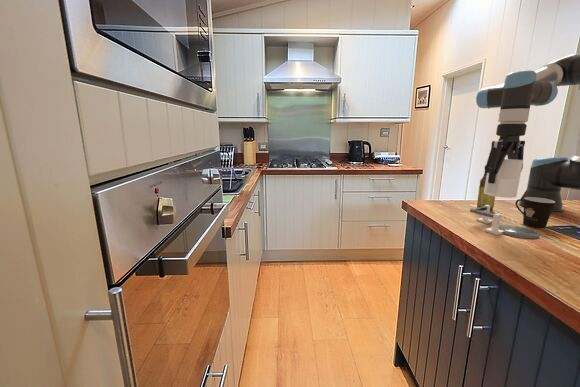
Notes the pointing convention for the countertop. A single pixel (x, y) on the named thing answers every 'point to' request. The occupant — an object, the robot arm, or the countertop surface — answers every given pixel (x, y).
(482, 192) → the sauce bottle
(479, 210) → the bent wire
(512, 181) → the base with upright slab
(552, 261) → the countertop surface
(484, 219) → the wire posts
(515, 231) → the coaster
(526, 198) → the coffee mug
